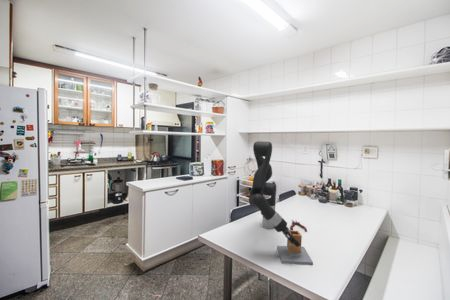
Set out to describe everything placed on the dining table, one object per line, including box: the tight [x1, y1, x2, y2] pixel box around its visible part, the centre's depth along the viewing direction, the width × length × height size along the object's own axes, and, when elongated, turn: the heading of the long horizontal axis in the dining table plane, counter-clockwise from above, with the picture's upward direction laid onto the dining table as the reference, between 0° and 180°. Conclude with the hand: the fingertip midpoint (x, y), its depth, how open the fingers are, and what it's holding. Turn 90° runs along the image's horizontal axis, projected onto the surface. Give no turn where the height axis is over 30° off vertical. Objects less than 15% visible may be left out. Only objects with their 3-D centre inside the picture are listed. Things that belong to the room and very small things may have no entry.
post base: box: [276, 245, 314, 266], centre depth 120 cm, size 16×16×8 cm
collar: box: [286, 229, 303, 253], centre depth 120 cm, size 6×6×10 cm
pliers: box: [289, 219, 308, 233], centre depth 162 cm, size 12×20×3 cm, turn 172°
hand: (297, 242), depth 120 cm, fingers closed on collar, 6 cm apart
